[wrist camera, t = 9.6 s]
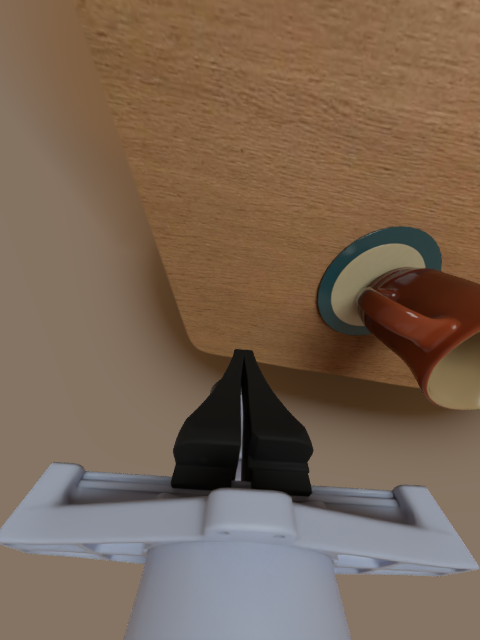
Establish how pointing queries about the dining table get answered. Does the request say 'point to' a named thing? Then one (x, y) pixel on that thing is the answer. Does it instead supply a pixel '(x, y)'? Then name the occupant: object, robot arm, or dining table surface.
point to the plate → (370, 271)
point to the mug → (429, 330)
